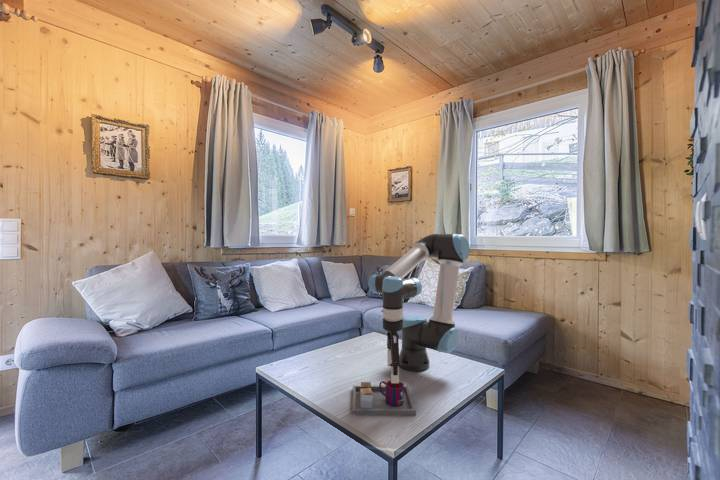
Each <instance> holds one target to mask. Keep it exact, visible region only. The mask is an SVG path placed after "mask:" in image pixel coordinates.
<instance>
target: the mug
mask: <svg viewBox="0 0 720 480" xmlns="http://www.w3.org/2000/svg"><path fill="white" fill-rule="evenodd" d="M382 384H384V386H386V394H385V393H384V392H383V391H382V389H381V386H382ZM378 386H379V389H380V392H381V393H382V394H383V395H384V396H385V397H386V399H385V401H386V403H387V404H388V405H389V406H393V407H398V406H401V405H402V404H403V398H404V386H405V385H404V383H403V382H402V381H400V380H399V383H391V379H390V380H387V381H384V380H382V381H381V382H380V383H379V384H378Z"/></svg>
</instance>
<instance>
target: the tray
mask: <svg viewBox="0 0 720 480" xmlns="http://www.w3.org/2000/svg"><path fill="white" fill-rule="evenodd" d="M352 388H353V389H352V415H353V416H416V415H417V414H416V413H417V411H416V407H415V404H414V401H413V399H412V398H413V397H412V395H411V393H410V389H409V385H404V398H403V404H402V405H401V406H398V407H393V406H389V405H388V404H387V403H386V401H385V399H386V397H385V396H384V395H383V394H382V393H381V392H380V389H379V385H371V390H372V392H373V407H372V409H361V400H360V389H361V385H352ZM381 389H382V391H383V392H384V393H385V394H386V385H381Z"/></svg>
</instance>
